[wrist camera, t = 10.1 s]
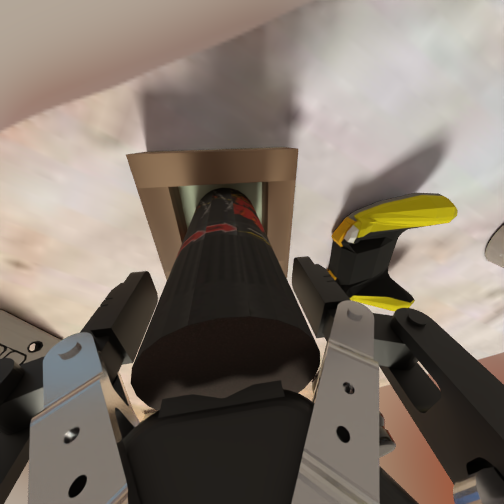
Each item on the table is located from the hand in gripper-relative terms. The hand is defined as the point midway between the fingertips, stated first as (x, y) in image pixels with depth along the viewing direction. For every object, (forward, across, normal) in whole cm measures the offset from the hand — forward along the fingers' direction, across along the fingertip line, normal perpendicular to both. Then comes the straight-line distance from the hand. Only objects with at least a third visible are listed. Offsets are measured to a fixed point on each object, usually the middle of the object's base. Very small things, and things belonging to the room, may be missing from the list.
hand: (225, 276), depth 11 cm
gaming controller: (+11, -17, +6) cm, 21 cm away
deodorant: (+10, 0, 0) cm, 10 cm away
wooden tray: (+11, 0, 0) cm, 11 cm away
